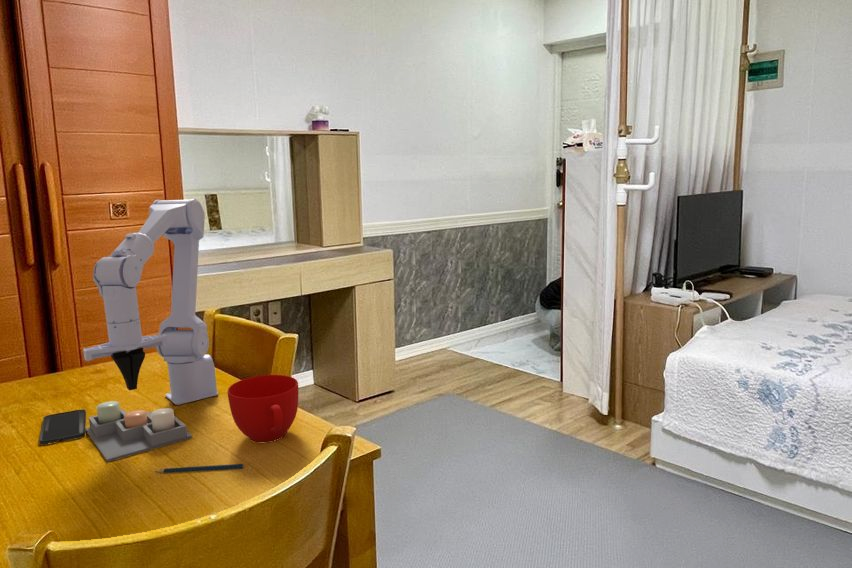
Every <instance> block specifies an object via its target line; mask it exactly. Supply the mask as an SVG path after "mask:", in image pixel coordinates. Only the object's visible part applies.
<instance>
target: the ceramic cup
mask: <svg viewBox="0 0 852 568" xmlns="http://www.w3.org/2000/svg"><path fill="white" fill-rule="evenodd" d="M227 398H228V404H229V405H228V406H229V408H230V414H231V416H232V419H233V422H234V423H235V425H236V427H237V428H238V430H240V432H241V433H242V434H243V435H244V436H245V437H247V438H248V439H249V440H250V441H251V440H252V441H251V442H253V441H254V443H257V442H267V443H271V442H270V441H273V442H275V441H274V440H276V441H278V440H277V439H279V438H281V437H282V438H283V437H285V435H286V433H287V432H288V431H289V429H290V428H291V426H292V425H293V423H294V422H295V419H296V416H297V412H298V407H299V381H298V380H297V379H296V378H294V377H292V376H288V375H283V374H264V375H257V376H252V377H248V378H244V379H241V380H238V381H236V382H234V383H233V384H230V386H229V387H228V389H227ZM284 434H285V435H284ZM282 438H281V439H282ZM279 440H280V439H279Z"/></svg>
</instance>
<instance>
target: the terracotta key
mask: <svg viewBox="0 0 852 568" xmlns="http://www.w3.org/2000/svg"><path fill="white" fill-rule="evenodd" d="M147 413H148V412H147V411H146V410H145V409H143V410H142V409H140V410H139V409H138V410H132V411H128V412H126V414H125V415H124V420H125V428H126V429H128V428H132V427H136V426H140V425H144V424H147V423H148V421H147Z"/></svg>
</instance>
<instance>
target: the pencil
mask: <svg viewBox="0 0 852 568" xmlns="http://www.w3.org/2000/svg"><path fill="white" fill-rule="evenodd" d="M244 467H245V465H244V463H235V464H218V465H217V464H215V465H200V466H199V465H198V466H184V467H183V466H181V467H170V468H161V469H158V470H156V471H154V472H155V473H158V474H159V473H161V474H171V473H172V474H173V473H174V474H175V473H189V472H192V473H193V472H205V471H206V472H208V471H211V472H212V471H225V470H244Z"/></svg>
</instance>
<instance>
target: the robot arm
mask: <svg viewBox="0 0 852 568" xmlns="http://www.w3.org/2000/svg"><path fill="white" fill-rule="evenodd" d="M205 213H206V212H205V210H204V207H203V205H202V204H201V202H200V201H199V199H197V198H191V199H170V200H169V199H165V200H164V199H163V200H161V199H155V200H154V201H153V202H152V203H151V204H150V206H149V207H148V217H147V219H146V221H145V222H144V224H143V225H142V227H141V228H140V229H139V231H138V232H132V233H127V234H125V236H124V239H123V241H122V242H120V244H119V245H118V246H117V247H116V248H115V249H114V250H113V251H112V252H111V254H110V255H109V256H103V257H102V258H100V259H99V260H97V262H96V263H95V264H94V267H93V274H92V280H93V282H94V283H95V285H96V286H97V288H98V292H99V293H98V294H99V295H100V298H103V305H104V306H103V307H104V313H105V314H104V315H105V320H106V322H105V323H106V327H107V328H106V329H107V336H108V342H106V343H102V344H99V345H96V346H92V347H87V348H83V349H82V352H83V358H84V361H86V362H90V361H93V360H95V359H100V358H105V357H110V358H111V360H113V362H114V363H115V364H116V366H117V368H118V370H119V371H120V373H121V376H122V378H123V380H124V382H125V387H126V389H127V390H129V391H133V390H137V389H138V380H139V375H140V370H141V368H142V365H143V362H144V360H145V357H146V352H145V351H144V350H146V349H151V348H156V351H157V353H158V355H159V356H160V357H161V358H163V362H166V363H167V372H168V379H169V381H168V382H169V386H170V387H169V388H170V392H168V393H165V397H166V398H167V399H168V400H169V401H170V402H172V403H173V405H176V406H178V405H183V404H187V403H191V402H194V401H195V402H196V401H199V400H203V399H208V398H211V397H214V396H218V395H219V392H218V390H217V389H218V388H217V380H216V379H217V378H216V377H217V376H216V368H215V364H214V363H215V362H214V361H213V358H212V356H211V355H210V354H207V352H208V349H209V346H210V340H209V334H208V325H207V323H206V322H205V321H203V320H202V319H201V318H200V317H198V316H197V315H196V309H197V308H196V306H197V289H198V288H197V287H198V286H197V285H198V266H199V248H200V240H202V239H203V238H204V233H205V221H206V219H205V217H206V215H205ZM162 236H163V237H164V238H165V239H167V240H170V241H171V242H172V243H173V245H174V247H173V248H174V252H173V268H172V269H173V270H172V273H173V274H172V283H171V284H172V286H171V287H172V288H171V289H172V290H171V303H170V305H171V307H170V315H169V316H168V317H167V318H165V319H164V320H163V321H162V322H160V323H159V332H158V334H157V335H147V336H145V335H144V336H143V333H142V327H141V326H142V325H141V319H140V310H139V302H138V293H137V287H136V286H137V285H138V284H140V281H141V277H142V273H143V269H144V265H146V263H147V262H148V260H149V259H150V258H151V256H152V255H153V254H154V252H155V246H154V245H155V243H156V242H157V241H158V240H159V239H160V238H161V237H162ZM179 328H180V329H179ZM181 328H182V329H181ZM183 328H184V329H183Z"/></svg>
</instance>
